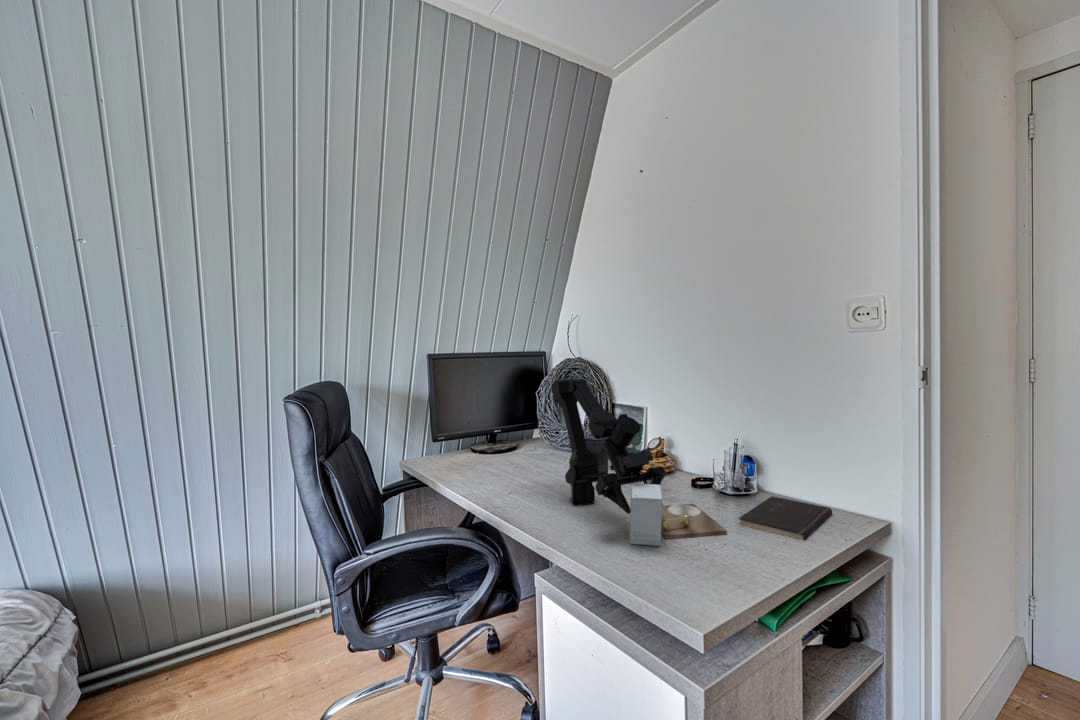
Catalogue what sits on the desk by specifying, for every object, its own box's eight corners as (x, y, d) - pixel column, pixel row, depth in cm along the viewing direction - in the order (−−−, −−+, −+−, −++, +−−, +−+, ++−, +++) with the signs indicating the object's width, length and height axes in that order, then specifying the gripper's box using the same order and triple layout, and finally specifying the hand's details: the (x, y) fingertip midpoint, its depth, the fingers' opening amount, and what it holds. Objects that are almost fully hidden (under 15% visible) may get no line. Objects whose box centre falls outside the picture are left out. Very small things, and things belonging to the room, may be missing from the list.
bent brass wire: (677, 535, 121) (676, 523, 121) (662, 531, 124) (662, 519, 124) (698, 521, 130) (698, 509, 130) (684, 517, 133) (683, 506, 132)
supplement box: (661, 546, 118) (662, 499, 114) (629, 544, 119) (630, 497, 116) (659, 528, 125) (661, 484, 121) (630, 526, 126) (630, 482, 123)
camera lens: (595, 474, 180) (594, 433, 180) (613, 478, 175) (612, 436, 174) (581, 479, 175) (580, 437, 174) (599, 483, 169) (598, 440, 168)
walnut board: (664, 539, 122) (664, 534, 122) (639, 511, 141) (639, 506, 141) (727, 534, 123) (726, 529, 123) (693, 507, 143) (693, 503, 143)
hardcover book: (738, 526, 130) (738, 517, 129) (771, 503, 146) (771, 495, 146) (804, 543, 118) (804, 534, 118) (832, 516, 134) (832, 508, 134)
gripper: (599, 443, 121) (626, 499, 112) (661, 435, 129) (691, 487, 119) (585, 467, 129) (608, 522, 119) (644, 459, 136) (671, 509, 126)
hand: (645, 509), depth 121 cm, fingers closed on supplement box, 9 cm apart
